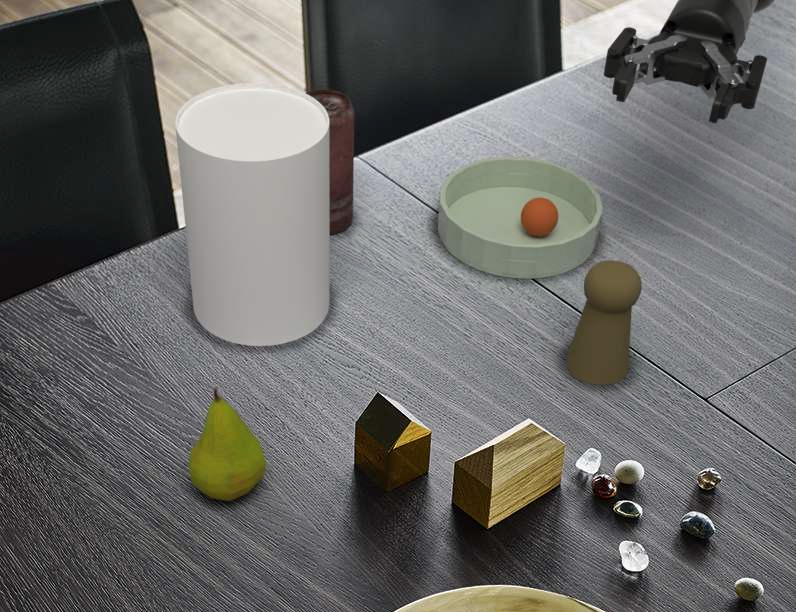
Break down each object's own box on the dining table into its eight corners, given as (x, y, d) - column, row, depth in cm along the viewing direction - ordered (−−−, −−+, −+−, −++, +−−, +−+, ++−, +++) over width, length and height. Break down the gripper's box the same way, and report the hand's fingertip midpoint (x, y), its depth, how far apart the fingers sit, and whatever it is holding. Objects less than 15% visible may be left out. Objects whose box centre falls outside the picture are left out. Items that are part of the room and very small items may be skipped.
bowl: (590, 192, 142) (595, 160, 139) (602, 283, 130) (608, 250, 127) (438, 184, 142) (440, 152, 139) (436, 274, 130) (439, 241, 127)
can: (290, 207, 137) (287, 88, 127) (347, 203, 138) (349, 85, 128) (297, 239, 133) (294, 118, 123) (356, 234, 134) (358, 115, 124)
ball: (561, 192, 133) (537, 209, 136) (533, 189, 131) (509, 206, 134) (569, 227, 133) (545, 243, 136) (541, 224, 130) (517, 240, 133)
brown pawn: (555, 351, 122) (570, 257, 114) (610, 339, 123) (629, 245, 115) (583, 390, 118) (601, 295, 110) (639, 377, 119) (661, 283, 112)
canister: (179, 338, 121) (158, 153, 106) (209, 257, 130) (194, 76, 116) (318, 352, 120) (316, 168, 106) (338, 270, 130) (339, 90, 115)
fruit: (258, 458, 110) (252, 351, 101) (272, 508, 106) (267, 401, 97) (185, 469, 109) (173, 362, 100) (196, 520, 104) (184, 413, 96)
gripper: (642, -25, 121) (597, 46, 111) (789, 5, 118) (757, 81, 108) (629, 49, 127) (584, 123, 116) (769, 80, 124) (736, 158, 113)
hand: (667, 102), depth 112 cm, fingers open, 8 cm apart
